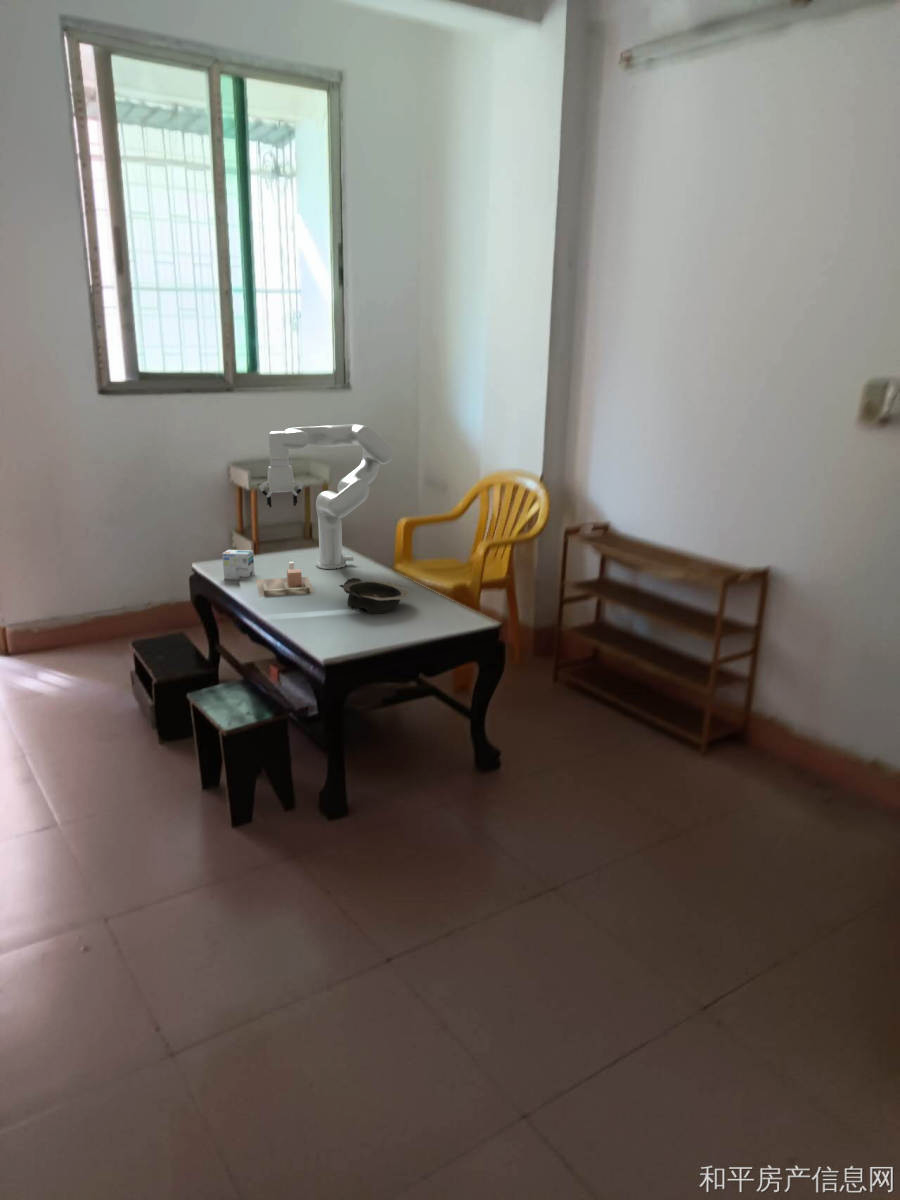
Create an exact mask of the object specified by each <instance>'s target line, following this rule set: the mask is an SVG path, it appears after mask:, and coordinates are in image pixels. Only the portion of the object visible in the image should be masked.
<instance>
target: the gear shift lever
mask: <svg viewBox="0 0 900 1200" xmlns="http://www.w3.org/2000/svg"><path fill="white" fill-rule="evenodd" d="M302 577H303V576H302V570H301V569H300V568H295V562H294V561H289V562H288V569H287V570H286V578H287V583H288V585H289V586H293V585H302Z"/></svg>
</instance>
